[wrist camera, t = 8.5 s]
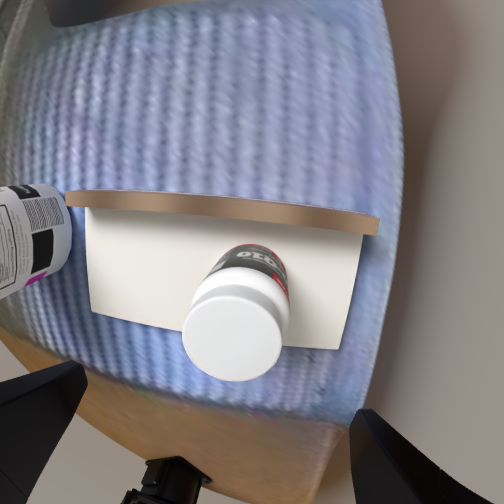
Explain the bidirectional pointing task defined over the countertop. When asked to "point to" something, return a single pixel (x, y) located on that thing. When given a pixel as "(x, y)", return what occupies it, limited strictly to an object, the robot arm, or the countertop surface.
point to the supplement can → (31, 235)
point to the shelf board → (217, 255)
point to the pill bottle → (239, 315)
